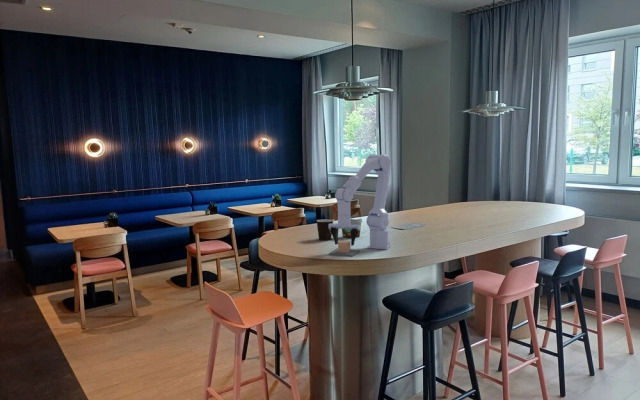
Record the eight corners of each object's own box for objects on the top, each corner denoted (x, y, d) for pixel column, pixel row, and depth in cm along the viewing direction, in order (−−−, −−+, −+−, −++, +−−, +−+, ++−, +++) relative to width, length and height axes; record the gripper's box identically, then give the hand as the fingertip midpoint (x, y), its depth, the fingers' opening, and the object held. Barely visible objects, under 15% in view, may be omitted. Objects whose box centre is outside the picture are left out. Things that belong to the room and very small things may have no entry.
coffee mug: (323, 241, 239) (323, 222, 238) (313, 239, 246) (313, 220, 245) (341, 239, 246) (341, 220, 245) (331, 236, 253) (330, 218, 252)
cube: (350, 250, 213) (350, 241, 213) (347, 252, 209) (347, 243, 209) (341, 250, 215) (341, 240, 214) (338, 252, 211) (338, 242, 210)
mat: (359, 251, 215) (359, 249, 215) (352, 256, 205) (352, 254, 205) (336, 249, 219) (336, 248, 219) (328, 254, 209) (328, 253, 209)
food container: (342, 239, 246) (342, 220, 245) (339, 237, 252) (339, 218, 251) (365, 237, 248) (365, 219, 247) (361, 235, 254) (361, 217, 253)
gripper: (326, 215, 209) (326, 245, 211) (357, 216, 204) (357, 247, 205) (331, 213, 216) (331, 242, 217) (361, 214, 211) (361, 244, 212)
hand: (344, 244), depth 212 cm, fingers open, 7 cm apart
